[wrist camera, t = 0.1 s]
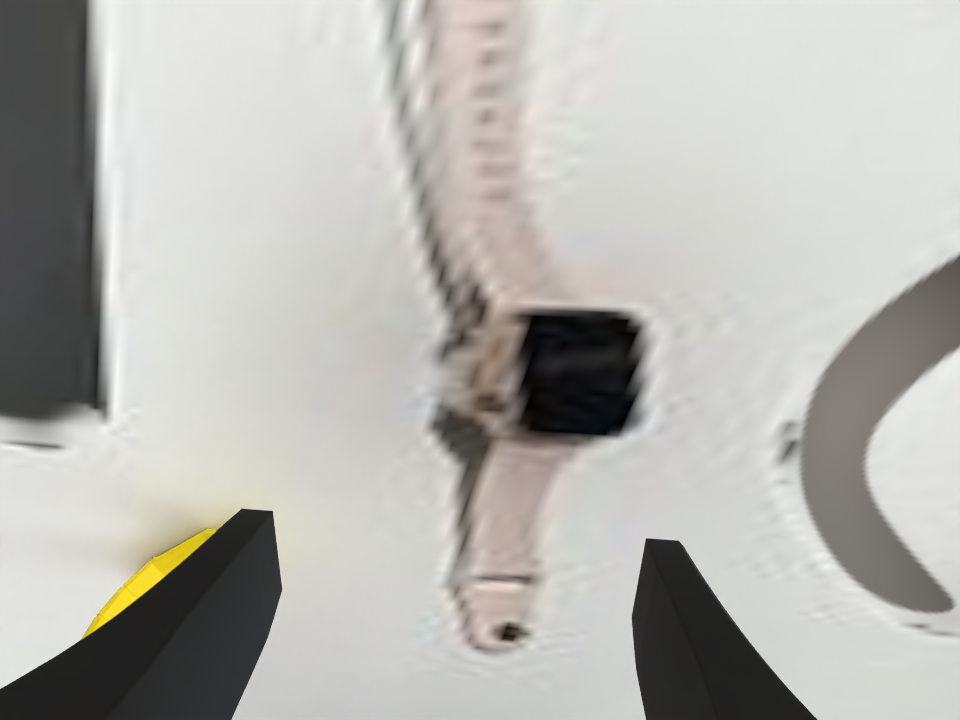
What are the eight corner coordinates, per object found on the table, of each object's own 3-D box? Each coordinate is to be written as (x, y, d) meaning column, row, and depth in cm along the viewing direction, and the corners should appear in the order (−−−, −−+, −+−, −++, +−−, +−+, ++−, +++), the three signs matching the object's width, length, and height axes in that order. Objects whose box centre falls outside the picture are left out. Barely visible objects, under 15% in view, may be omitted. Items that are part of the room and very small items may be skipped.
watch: (164, 602, 29) (83, 736, 24) (116, 556, 28) (19, 686, 23) (277, 547, 28) (215, 680, 22) (229, 496, 27) (153, 622, 21)
